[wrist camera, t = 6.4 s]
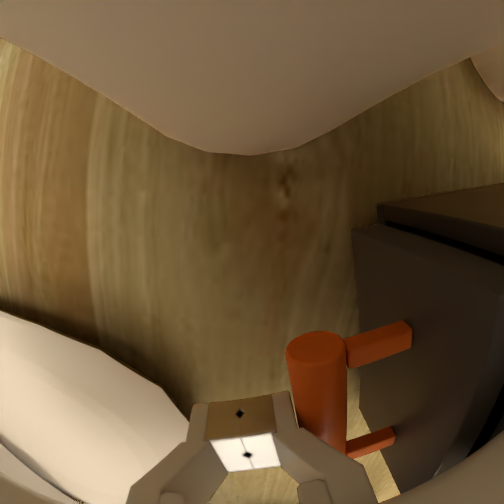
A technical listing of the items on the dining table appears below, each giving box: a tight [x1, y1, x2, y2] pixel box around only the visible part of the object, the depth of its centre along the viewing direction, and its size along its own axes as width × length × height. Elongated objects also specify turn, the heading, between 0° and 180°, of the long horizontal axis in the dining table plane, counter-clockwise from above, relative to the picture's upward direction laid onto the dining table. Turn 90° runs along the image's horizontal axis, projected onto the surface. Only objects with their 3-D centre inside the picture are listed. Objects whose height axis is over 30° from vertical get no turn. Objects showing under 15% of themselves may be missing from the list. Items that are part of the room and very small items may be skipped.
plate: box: [0, 309, 208, 504], centre depth 11 cm, size 22×22×2 cm
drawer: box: [285, 224, 504, 494], centre depth 7 cm, size 12×9×7 cm
